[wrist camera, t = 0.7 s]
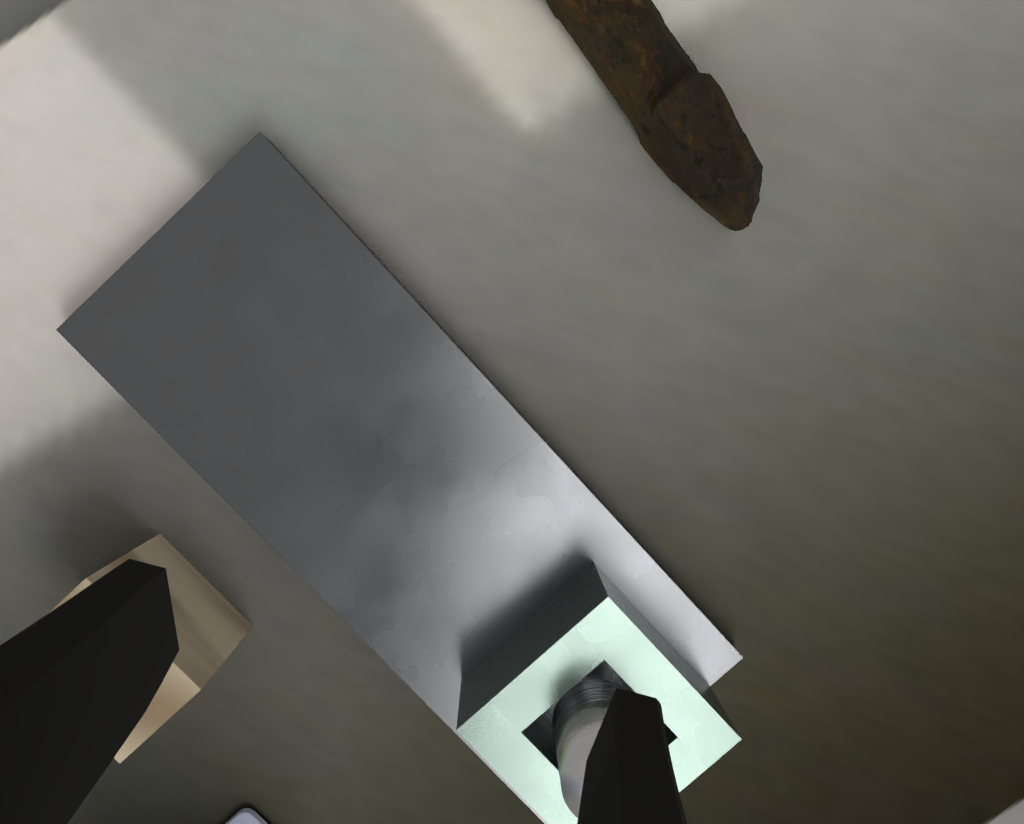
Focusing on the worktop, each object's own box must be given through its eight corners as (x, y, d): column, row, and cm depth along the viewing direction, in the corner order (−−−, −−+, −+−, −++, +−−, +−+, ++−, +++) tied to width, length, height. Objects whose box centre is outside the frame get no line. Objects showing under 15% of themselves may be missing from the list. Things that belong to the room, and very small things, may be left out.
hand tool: (440, -116, 30) (428, -195, 26) (519, -173, 30) (522, -263, 25) (679, 265, 32) (708, 256, 28) (755, 215, 32) (797, 197, 27)
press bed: (545, 808, 35) (554, 898, 29) (73, 329, 32) (-16, 329, 26) (734, 646, 34) (779, 706, 29) (268, 139, 31) (220, 99, 26)
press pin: (592, 779, 30) (607, 848, 26) (533, 719, 29) (539, 779, 25) (658, 723, 30) (683, 784, 26) (599, 661, 29) (616, 713, 25)
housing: (186, 687, 34) (115, 768, 27) (92, 596, 33) (-2, 658, 27) (253, 625, 33) (197, 693, 27) (160, 533, 33) (81, 580, 27)
